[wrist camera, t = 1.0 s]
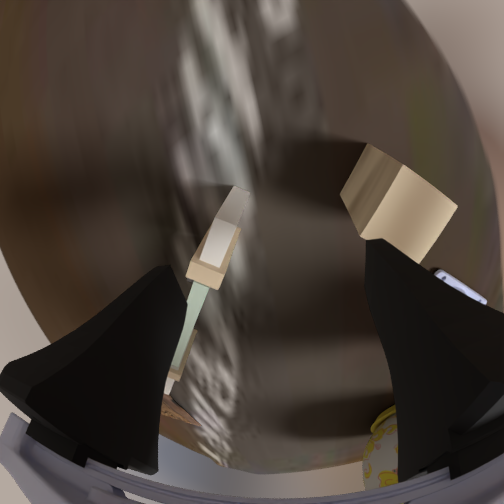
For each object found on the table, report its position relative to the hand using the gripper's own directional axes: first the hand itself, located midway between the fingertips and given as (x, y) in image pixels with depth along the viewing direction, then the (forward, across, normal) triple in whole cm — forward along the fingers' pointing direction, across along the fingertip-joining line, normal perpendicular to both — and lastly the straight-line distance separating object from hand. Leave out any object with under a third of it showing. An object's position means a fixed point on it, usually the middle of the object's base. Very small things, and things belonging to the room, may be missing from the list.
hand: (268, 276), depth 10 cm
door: (+9, +8, +7) cm, 14 cm away
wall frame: (+9, +7, +8) cm, 14 cm away
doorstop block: (+9, -7, 0) cm, 12 cm away
